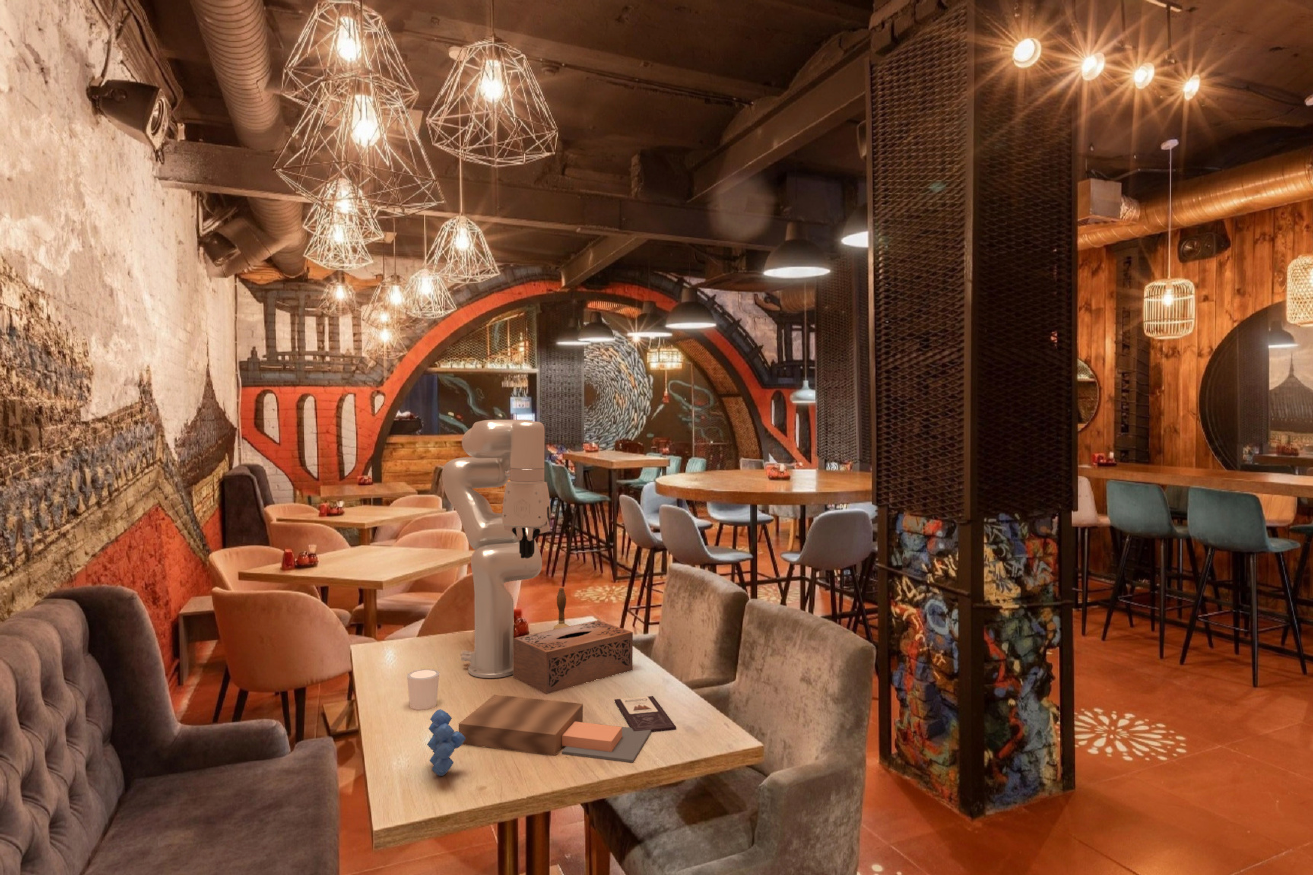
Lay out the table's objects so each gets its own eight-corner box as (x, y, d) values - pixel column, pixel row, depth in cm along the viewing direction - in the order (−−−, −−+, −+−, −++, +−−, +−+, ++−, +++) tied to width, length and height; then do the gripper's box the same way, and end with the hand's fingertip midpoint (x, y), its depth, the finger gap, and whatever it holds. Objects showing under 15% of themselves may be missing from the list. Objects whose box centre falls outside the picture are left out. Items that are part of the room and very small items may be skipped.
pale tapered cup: (445, 701, 172) (445, 670, 172) (427, 712, 166) (427, 680, 166) (419, 697, 174) (419, 667, 174) (400, 708, 168) (400, 676, 168)
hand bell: (542, 649, 211) (543, 591, 211) (551, 640, 219) (552, 584, 219) (572, 651, 210) (572, 592, 209) (580, 642, 218) (580, 586, 217)
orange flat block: (561, 745, 149) (562, 735, 149) (574, 731, 156) (574, 721, 156) (611, 751, 147) (611, 741, 147) (621, 736, 153) (622, 726, 153)
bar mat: (561, 753, 147) (561, 751, 147) (585, 725, 160) (585, 722, 160) (632, 762, 143) (632, 759, 143) (651, 732, 157) (651, 729, 157)
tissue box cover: (597, 657, 205) (598, 620, 205) (632, 671, 195) (632, 632, 194) (513, 678, 188) (513, 638, 188) (546, 695, 178) (546, 652, 177)
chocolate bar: (633, 731, 156) (614, 699, 173) (633, 735, 156) (614, 703, 174) (676, 727, 159) (653, 695, 176) (676, 731, 159) (652, 699, 176)
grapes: (471, 785, 134) (472, 717, 134) (431, 792, 131) (431, 723, 131) (460, 757, 145) (460, 694, 144) (422, 763, 142) (422, 699, 142)
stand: (458, 743, 151) (458, 723, 150) (494, 712, 166) (494, 694, 166) (555, 755, 146) (555, 734, 146) (582, 722, 161) (582, 703, 161)
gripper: (489, 476, 172) (488, 558, 172) (552, 478, 168) (551, 562, 169) (503, 473, 179) (503, 552, 179) (564, 475, 175) (563, 556, 176)
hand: (526, 557), depth 174 cm, fingers closed
